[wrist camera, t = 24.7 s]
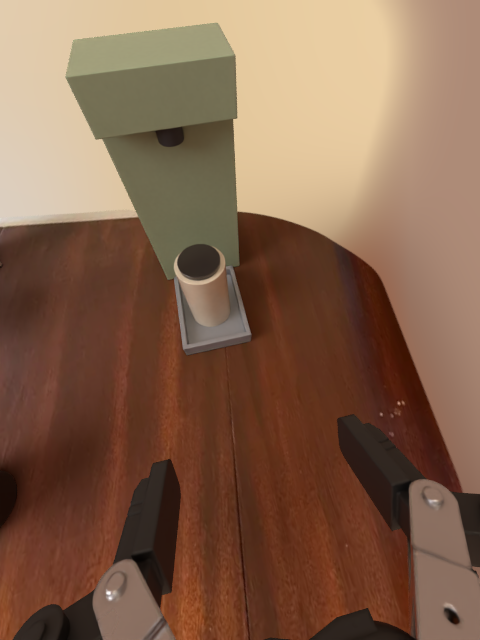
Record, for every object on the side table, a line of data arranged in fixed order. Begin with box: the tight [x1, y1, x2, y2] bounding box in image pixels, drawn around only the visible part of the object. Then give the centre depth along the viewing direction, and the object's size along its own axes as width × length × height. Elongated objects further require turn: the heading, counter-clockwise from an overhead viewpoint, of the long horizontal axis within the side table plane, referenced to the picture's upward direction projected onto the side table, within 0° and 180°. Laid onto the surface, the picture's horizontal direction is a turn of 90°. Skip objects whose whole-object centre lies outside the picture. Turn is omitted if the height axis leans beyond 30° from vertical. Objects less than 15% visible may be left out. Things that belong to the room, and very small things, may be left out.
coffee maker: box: [66, 23, 251, 355], centre depth 29 cm, size 12×21×26 cm, turn 13°
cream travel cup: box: [174, 244, 231, 327], centre depth 33 cm, size 6×6×11 cm
